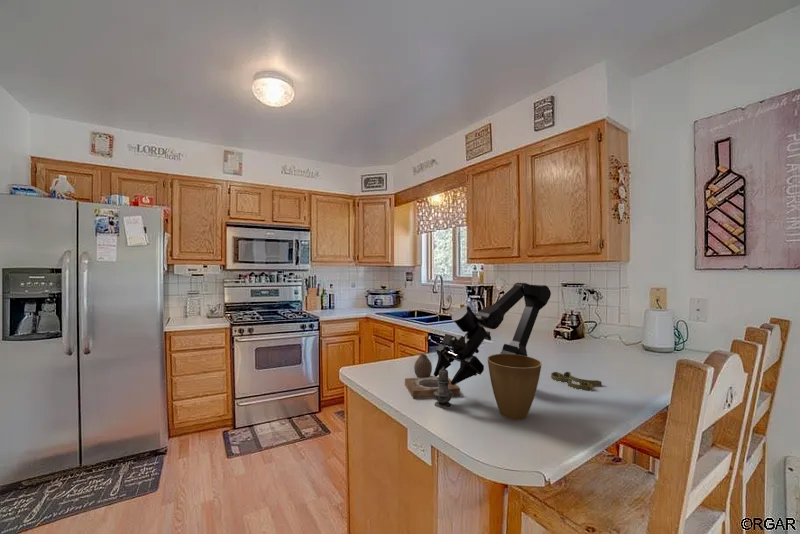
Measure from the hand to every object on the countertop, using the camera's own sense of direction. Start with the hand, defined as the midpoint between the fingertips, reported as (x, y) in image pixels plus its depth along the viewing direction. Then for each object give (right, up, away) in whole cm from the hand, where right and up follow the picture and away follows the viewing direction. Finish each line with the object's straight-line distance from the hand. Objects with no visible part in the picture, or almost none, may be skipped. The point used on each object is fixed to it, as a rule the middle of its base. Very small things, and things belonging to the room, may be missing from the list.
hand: (442, 379), depth 108 cm
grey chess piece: (0, -8, 0) cm, 8 cm away
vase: (-4, -8, +28) cm, 29 cm away
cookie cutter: (+52, -9, +24) cm, 58 cm away
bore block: (-2, -8, +13) cm, 15 cm away
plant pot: (+20, -8, -7) cm, 22 cm away
